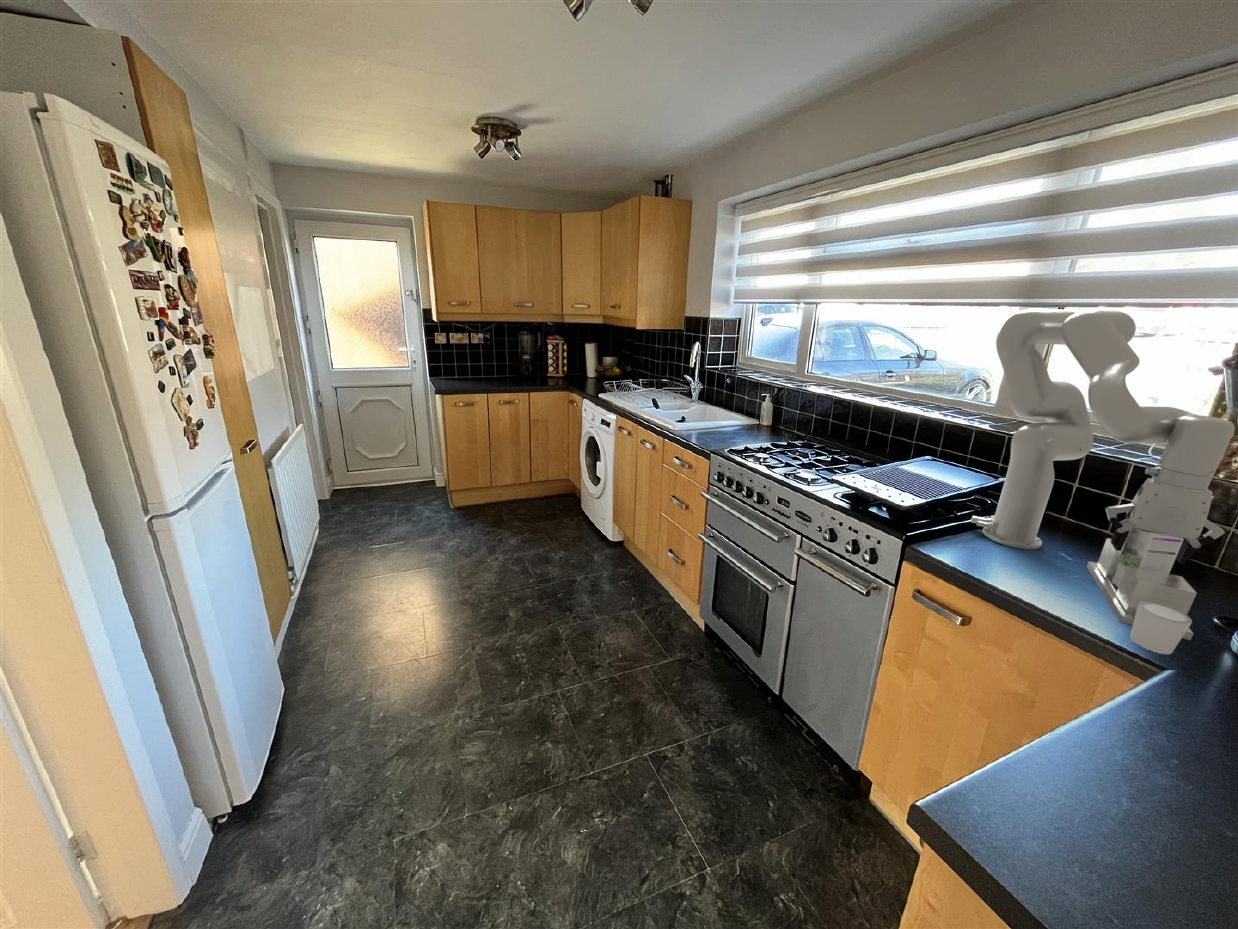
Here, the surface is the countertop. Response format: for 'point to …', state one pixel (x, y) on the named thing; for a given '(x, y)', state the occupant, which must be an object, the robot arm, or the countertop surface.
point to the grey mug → (1158, 627)
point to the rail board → (1139, 587)
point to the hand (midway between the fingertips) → (1146, 554)
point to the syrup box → (1147, 553)
